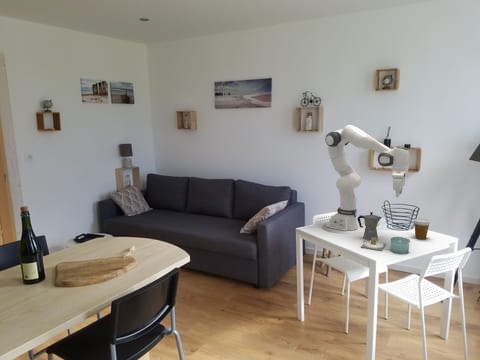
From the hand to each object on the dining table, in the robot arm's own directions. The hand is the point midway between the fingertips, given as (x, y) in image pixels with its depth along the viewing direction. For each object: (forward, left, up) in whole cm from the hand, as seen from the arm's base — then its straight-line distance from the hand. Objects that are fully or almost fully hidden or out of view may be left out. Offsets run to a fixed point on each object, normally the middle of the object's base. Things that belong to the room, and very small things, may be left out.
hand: (398, 195), depth 219 cm
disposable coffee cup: (+12, +18, -31) cm, 38 cm away
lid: (-11, -13, -30) cm, 35 cm away
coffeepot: (-17, +1, -31) cm, 36 cm away
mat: (-11, -13, -31) cm, 35 cm away
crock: (+4, -13, -31) cm, 34 cm away
